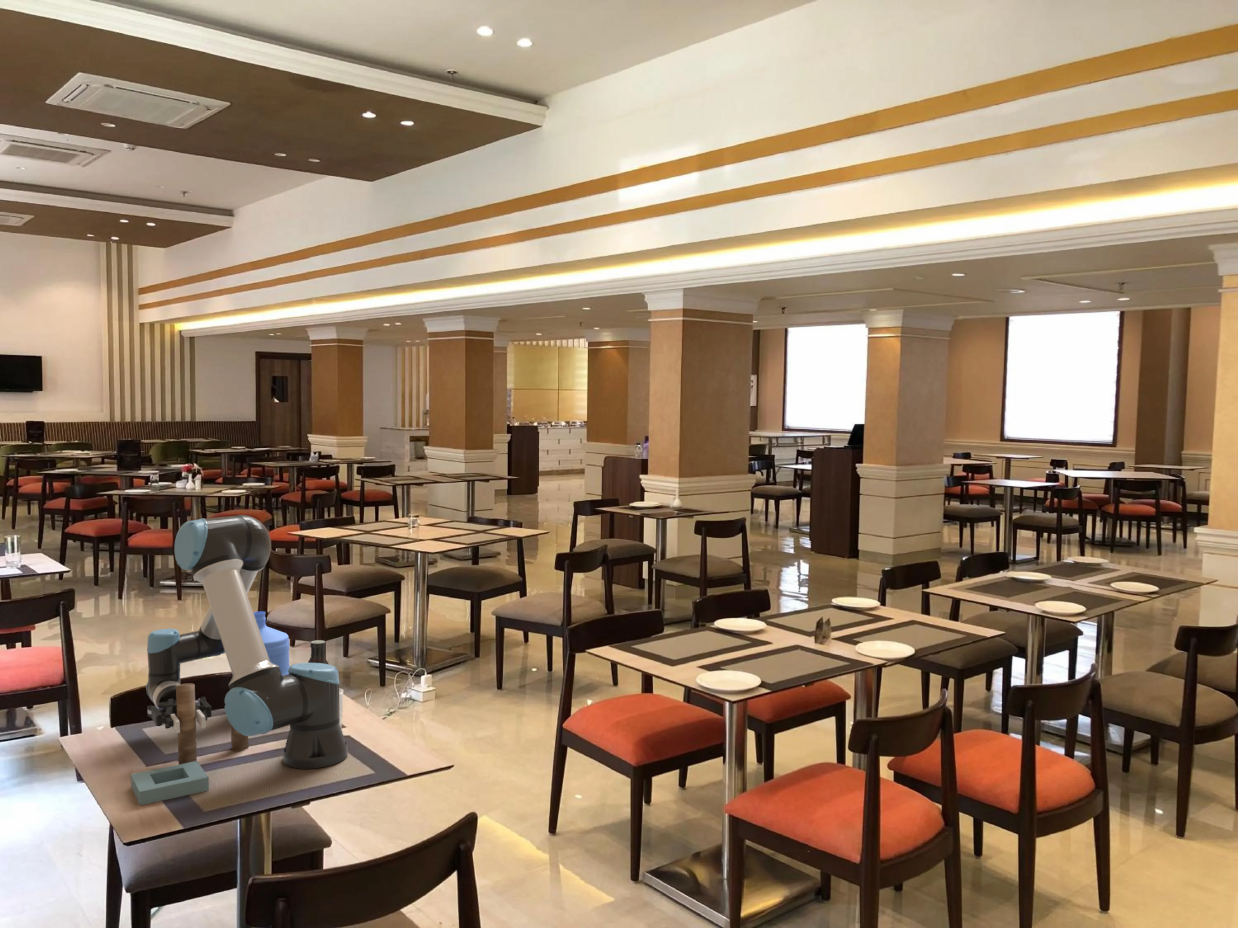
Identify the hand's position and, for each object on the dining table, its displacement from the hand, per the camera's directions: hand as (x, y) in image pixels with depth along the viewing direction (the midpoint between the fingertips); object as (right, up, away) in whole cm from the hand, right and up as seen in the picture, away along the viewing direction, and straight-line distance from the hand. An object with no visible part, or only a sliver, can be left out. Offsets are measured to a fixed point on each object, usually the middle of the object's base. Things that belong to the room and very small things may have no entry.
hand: (191, 724), depth 223 cm
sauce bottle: (+14, -9, +48) cm, 51 cm away
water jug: (-2, -9, +48) cm, 49 cm away
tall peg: (-3, -12, +5) cm, 13 cm away
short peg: (+4, -11, +18) cm, 22 cm away
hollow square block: (-2, -13, -7) cm, 14 cm away
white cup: (+22, -10, +33) cm, 41 cm away
